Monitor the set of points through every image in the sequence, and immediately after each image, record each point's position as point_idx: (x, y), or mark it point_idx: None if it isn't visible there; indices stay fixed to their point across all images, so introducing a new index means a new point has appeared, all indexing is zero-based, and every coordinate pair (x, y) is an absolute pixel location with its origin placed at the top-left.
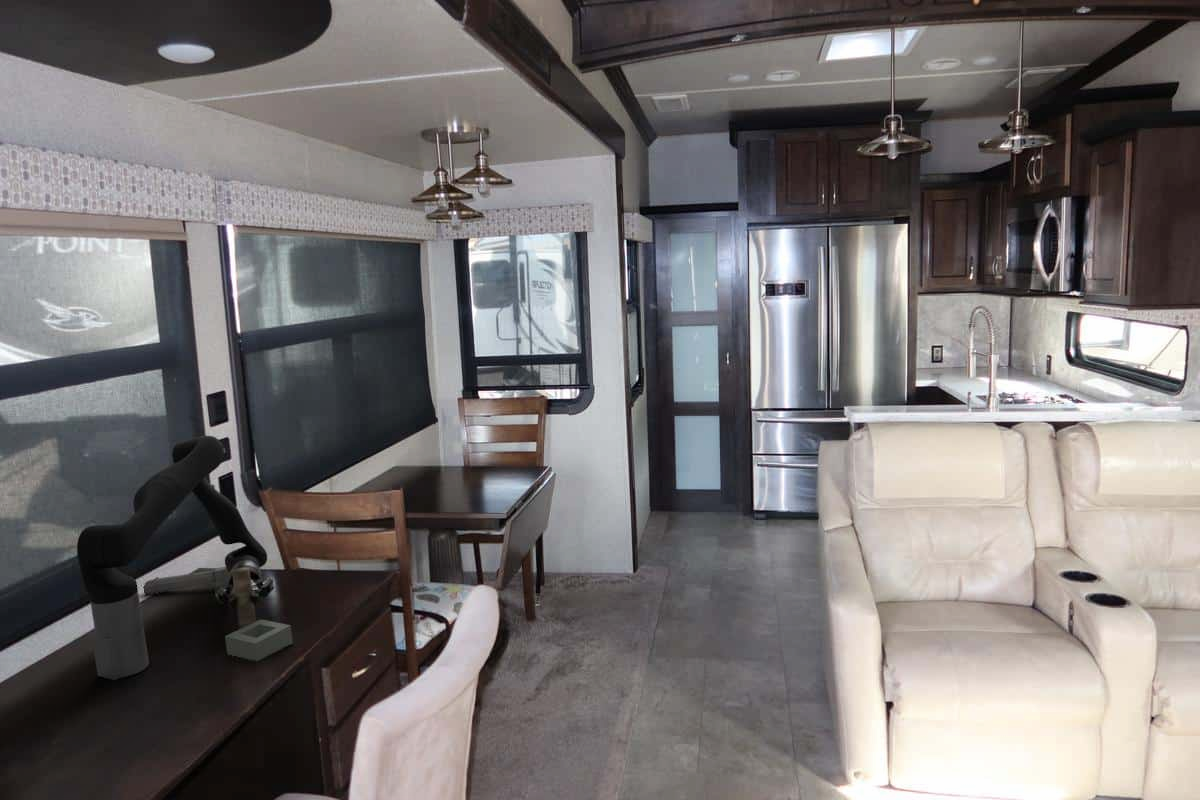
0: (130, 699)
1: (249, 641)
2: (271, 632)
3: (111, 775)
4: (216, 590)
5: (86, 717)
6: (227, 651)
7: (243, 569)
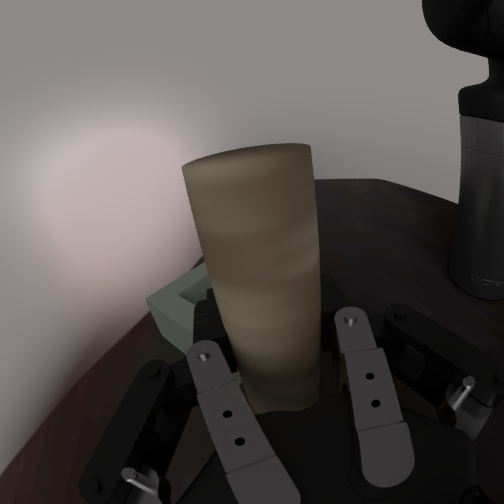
0: (392, 227)
1: None
2: (190, 278)
3: (319, 183)
4: (487, 356)
5: (411, 211)
6: None
7: (224, 158)
